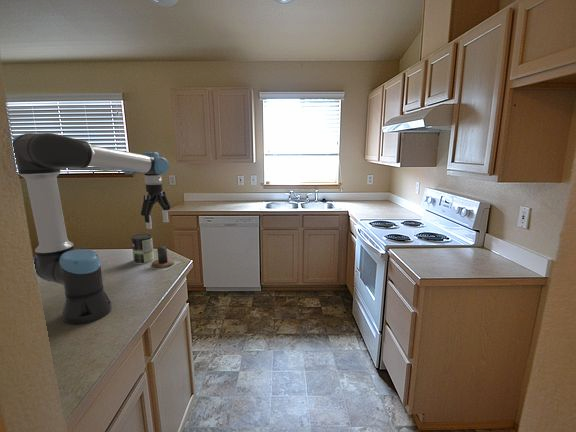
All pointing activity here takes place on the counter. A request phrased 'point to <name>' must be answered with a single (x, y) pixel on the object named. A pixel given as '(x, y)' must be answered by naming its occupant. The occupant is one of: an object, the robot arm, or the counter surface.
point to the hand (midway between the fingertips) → (157, 225)
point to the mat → (163, 268)
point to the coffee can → (142, 248)
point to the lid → (162, 259)
